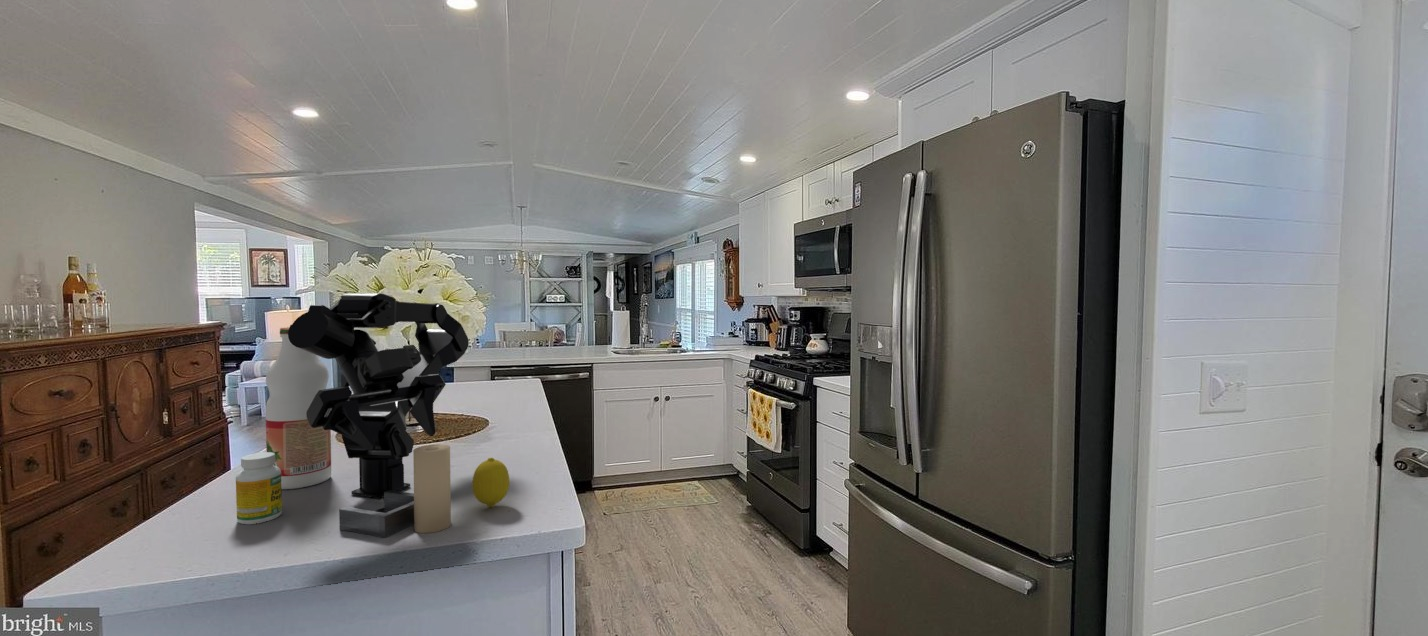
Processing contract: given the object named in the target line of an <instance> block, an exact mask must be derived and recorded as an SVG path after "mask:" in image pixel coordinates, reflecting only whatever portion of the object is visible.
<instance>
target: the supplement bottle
mask: <svg viewBox="0 0 1428 636" xmlns="http://www.w3.org/2000/svg"><path fill="white" fill-rule="evenodd" d="M274 463H275V453H272V452H267V451H266V452H265V451H264V452H263V451H262V452H255V453H251V454H246V455H244V456H242V457H241V459H240V467H241V468H242V470H240V471H239V472H237V474H236V476H235V493H236V494H235V498H236V501H235V502H236V522H238V523H239V524H241V525H256V523H257V524H261V523H266V521H267V522H270V521H272V520H274V519H276V518H278V517H279V516H280V515H282V512H283V505H282V504H283V501H282V499H283V497H282V494H283V493H282V489H281V470H280V468H279V467H277V466H274V465H273V464H274Z"/></svg>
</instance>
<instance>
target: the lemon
mask: <svg viewBox="0 0 1428 636" xmlns="http://www.w3.org/2000/svg"><path fill="white" fill-rule="evenodd" d="M471 488H472V492H473V495H474V497H475V498H476V500H477V501H478V502H479V503H481V504H484V505H486V506H487V507H488V508H494V507H495V506H496V505H497V504H498V503H499V502H501V501H502V500H503V499H504V498H505V497H506V496H507V493H508V492H509V488H510V474H509V470H508V468H507V466H506V465H505V464H504V463H503V462H502V461H500V460H498V459H495V458H494V457H488V458H487V459H485V460H484V461H482V462H481V463H479V465H478V466H477V467H476V468H475V470H474V473H473V477H472V483H471Z"/></svg>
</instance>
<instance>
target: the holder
mask: <svg viewBox="0 0 1428 636" xmlns="http://www.w3.org/2000/svg"><path fill="white" fill-rule="evenodd" d="M383 498H384V499H383V503H384V505H383V506H384V507H382V508H379V509H376V510H369V509H362V508H357V507H350V506H344V507H341V508H339V510H338V511H339V513H338V516H339V517H338V519H339V520H338V521H339V523H338V524H339V530H340V531H344V532H345V531H346V532H351V533H357V534H363V535H367V536H373V537H374V536H375V537H378V538H384V539H385V538H387V537H390V536H392V535H395V534H397V533H398V532H400V531H402V530H404V529H406V528H409V527H411V526H414V492H413V493H412V492H406V491H401V490H400V491H393V490H388V491H386V492H384V497H383Z"/></svg>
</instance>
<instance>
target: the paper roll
mask: <svg viewBox="0 0 1428 636" xmlns="http://www.w3.org/2000/svg"><path fill="white" fill-rule="evenodd" d="M412 453H413V456H412V457H413V493H414V524H413V526H414V528H413V529H414V531H415V532H416V533H419V534H432V533H433V534H434V533H436V532H441V531H444V530H446V529H449V527H450V526H451V525H452V512H451V511H452V509H451V508H452V507H451V506H452V505H451V504H452V503H451V502H452V501H451V498H452V497H451V496H452V495H451V446H450V445H448V444H440V443H439V444H429V445H422V446H419V447H416V448H414V449H412Z"/></svg>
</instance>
